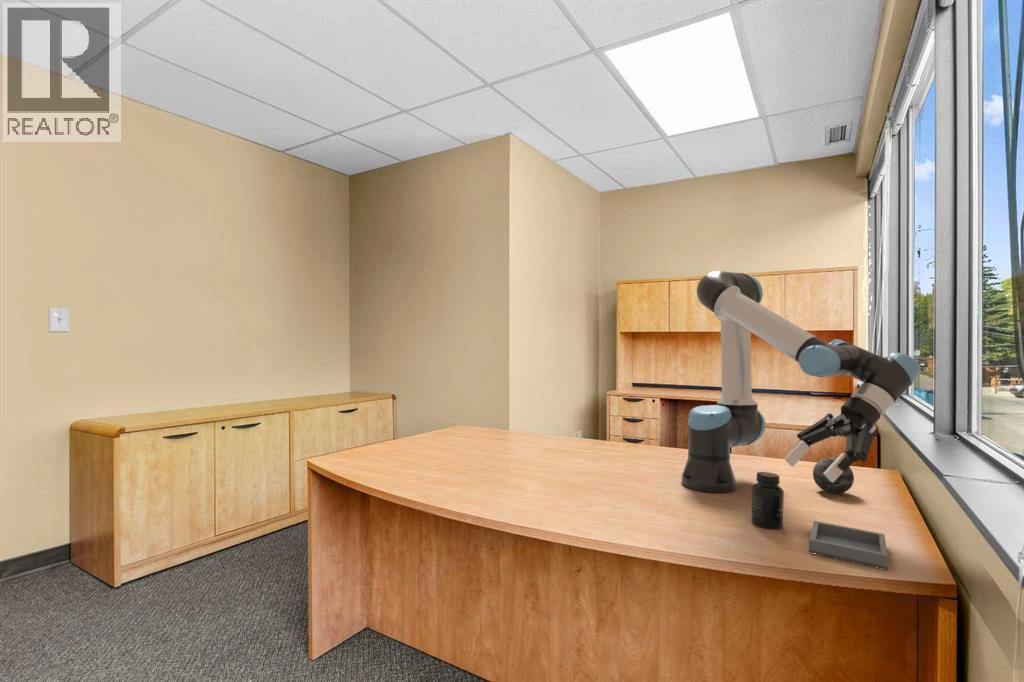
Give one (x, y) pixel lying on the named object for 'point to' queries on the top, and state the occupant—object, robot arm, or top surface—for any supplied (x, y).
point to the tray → (849, 544)
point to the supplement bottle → (767, 501)
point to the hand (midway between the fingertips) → (806, 470)
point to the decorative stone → (839, 484)
